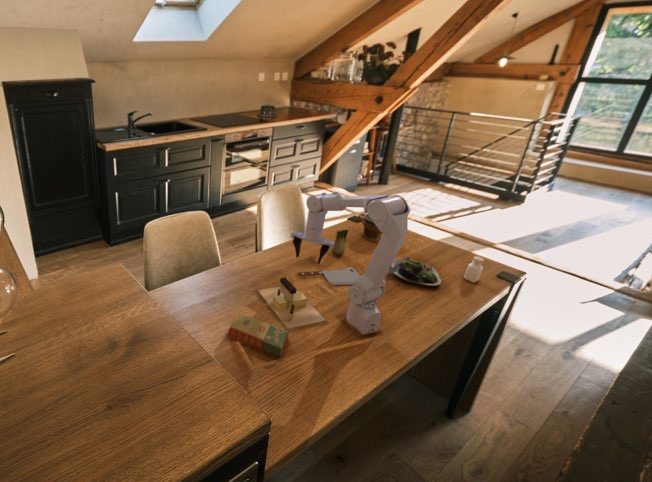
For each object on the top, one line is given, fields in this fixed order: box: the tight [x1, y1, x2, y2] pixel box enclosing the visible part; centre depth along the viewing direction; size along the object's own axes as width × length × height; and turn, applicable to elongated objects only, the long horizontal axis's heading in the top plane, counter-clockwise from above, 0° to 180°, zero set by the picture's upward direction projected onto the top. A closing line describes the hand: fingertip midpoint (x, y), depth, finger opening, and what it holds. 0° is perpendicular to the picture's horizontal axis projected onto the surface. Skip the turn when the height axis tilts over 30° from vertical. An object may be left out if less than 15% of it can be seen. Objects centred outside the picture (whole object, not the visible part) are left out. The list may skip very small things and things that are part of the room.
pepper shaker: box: [463, 255, 485, 284], centre depth 146 cm, size 4×4×10 cm
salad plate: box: [388, 255, 442, 289], centre depth 151 cm, size 19×18×5 cm
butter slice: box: [272, 295, 287, 311], centre depth 128 cm, size 4×3×3 cm
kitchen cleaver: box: [298, 266, 362, 286], centre depth 147 cm, size 24×1×10 cm
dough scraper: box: [279, 276, 298, 304], centre depth 127 cm, size 7×2×6 cm, turn 17°
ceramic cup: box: [358, 213, 383, 242], centre depth 177 cm, size 13×10×10 cm
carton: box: [227, 312, 289, 357], centre depth 115 cm, size 8×16×4 cm, turn 61°
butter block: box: [284, 291, 308, 309], centre depth 130 cm, size 4×7×3 cm, turn 107°
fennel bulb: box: [330, 228, 349, 256], centre depth 161 cm, size 6×5×12 cm
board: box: [257, 285, 327, 329], centre depth 129 cm, size 20×14×4 cm
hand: (308, 259), depth 139 cm, fingers open, 7 cm apart
